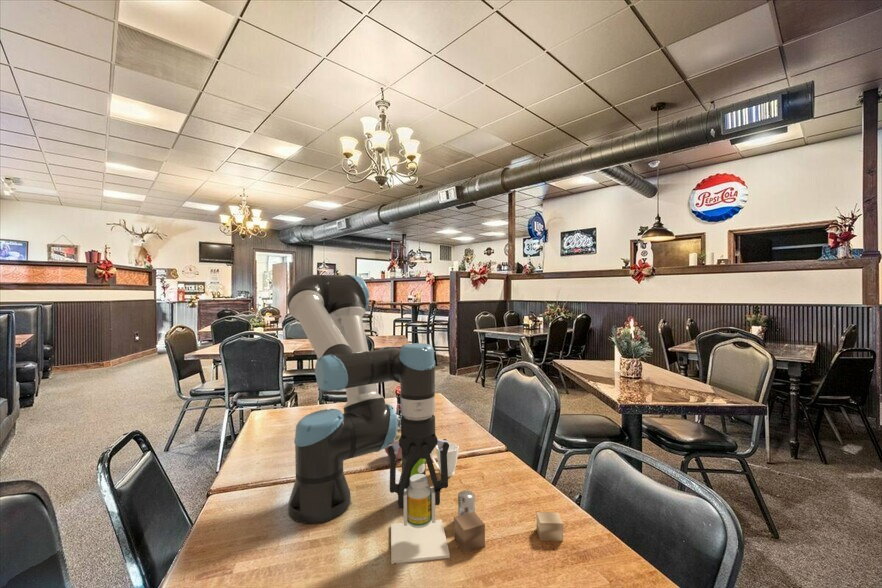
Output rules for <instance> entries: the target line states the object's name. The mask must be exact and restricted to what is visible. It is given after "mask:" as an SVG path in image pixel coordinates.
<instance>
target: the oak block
mask: <svg viewBox="0 0 882 588" xmlns="http://www.w3.org/2000/svg"><path fill="white" fill-rule="evenodd" d="M536 531H537V534H538V537H539V540H540V541H546V542H547V541H548V542H550V541H552V542H563V541H564V522H563V520H562V518H561V515H560V513H559V512H553V511H552V512H549V511H548V512H547V511H546V512H545V511H536Z"/></svg>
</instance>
